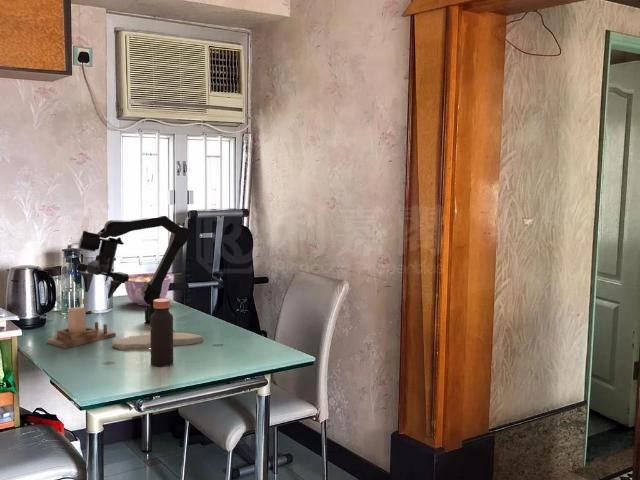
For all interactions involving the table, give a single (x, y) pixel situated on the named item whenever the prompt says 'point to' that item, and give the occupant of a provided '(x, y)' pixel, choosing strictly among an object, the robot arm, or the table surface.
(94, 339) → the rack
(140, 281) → the bowl of food
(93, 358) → the table surface
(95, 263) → the robot arm
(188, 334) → the stone tablet
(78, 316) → the clay bar
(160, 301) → the bottle
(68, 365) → the table surface
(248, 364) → the table surface
